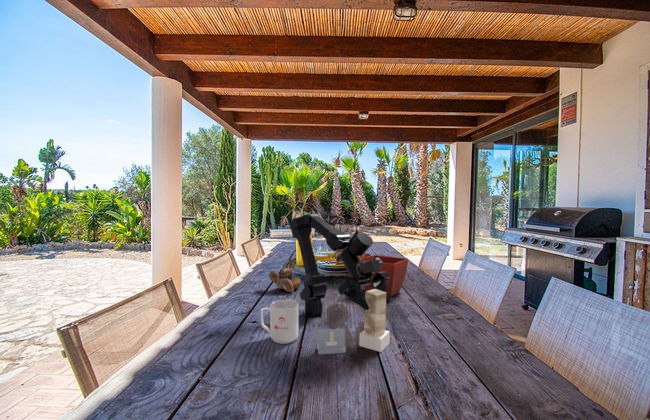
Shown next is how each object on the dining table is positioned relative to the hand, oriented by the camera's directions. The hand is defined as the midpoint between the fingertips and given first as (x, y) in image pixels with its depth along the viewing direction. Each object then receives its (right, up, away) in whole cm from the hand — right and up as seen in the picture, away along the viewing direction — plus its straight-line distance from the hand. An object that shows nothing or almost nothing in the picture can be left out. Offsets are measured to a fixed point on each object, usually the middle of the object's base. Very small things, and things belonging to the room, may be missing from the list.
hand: (378, 306), depth 92 cm
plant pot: (+12, -12, +57) cm, 60 cm away
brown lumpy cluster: (-35, -11, +60) cm, 71 cm away
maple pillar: (-1, -8, +1) cm, 8 cm away
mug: (-31, -12, +4) cm, 33 cm away
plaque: (-15, -12, -3) cm, 19 cm away
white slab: (-1, -12, +1) cm, 12 cm away
